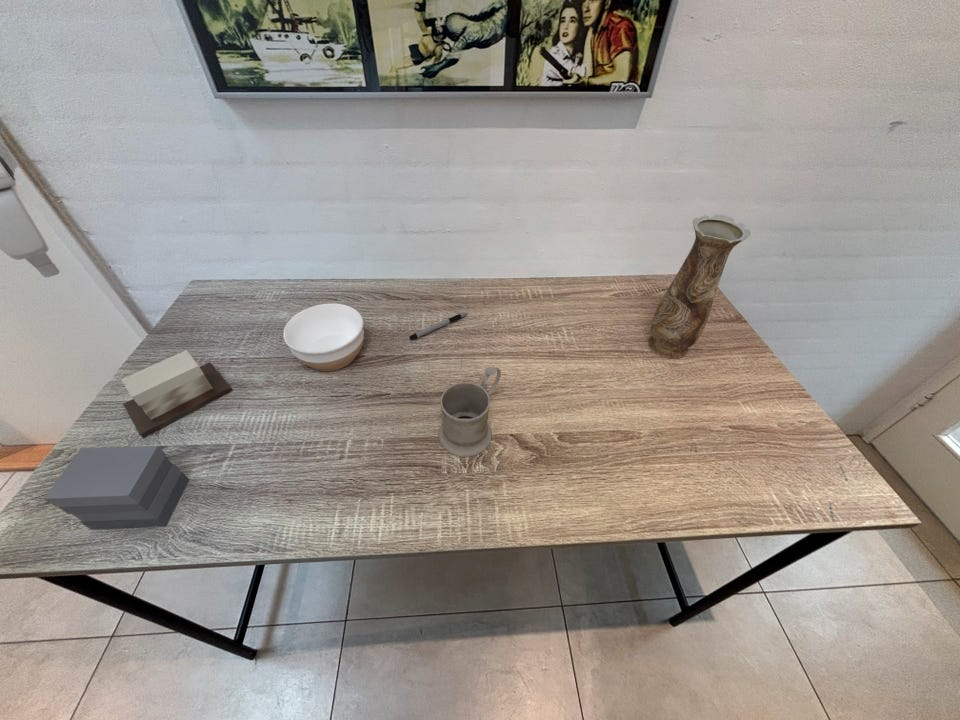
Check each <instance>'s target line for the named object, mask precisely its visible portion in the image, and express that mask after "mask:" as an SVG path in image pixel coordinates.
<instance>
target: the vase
mask: <svg viewBox="0 0 960 720" xmlns="http://www.w3.org/2000/svg"><path fill="white" fill-rule="evenodd" d="M692 225H693V229H694V233H695V238H694V242H693V244H692V246H691V249H690V250H689V252H688V254H687V256H686V257H685V259H684V260H683V263H682V264H681V266H680V268H679V270H678V272H677V273H676V275H675V277H674V278H673V280H672V282H671V283H670V285H669V287H668V288H667V290H666V292H665V293H664V295H663V297H662V298H661V300H660V301H659V303H658V305H657V307H656V309H655V312H654V313H653V317H652V320H651V324H650V333H651V335H650V336H649V338H648V339H647V345H648V347H649V348H650V349H651V351H653V352H654V353H655V354H656V355H658V356H660V357H663V358H666V359H674V360H675V359H682V358H684V357H685V356H686V355H687V354H688V352H689V348H690V347H692V346H694V345H695V343H697V341H698V340H699V339H700V337H701V335H702V333H703V332H704V329H705V328H706V325H707V323H708V320H709V317H710V314H711V311H712V308H713V304H714V300H715V298H716V294H717V291H718V288H719V285H720V281H721V278H722V276H723V273H724V269H725V266H726V265H727V261H728V259H729V256H730V254H731V252H732V251H733V249H734V248H735V247H736V246H737V245H738V244H740V243H741V242H743V241H744V240H746V239H748V238H749V237H750V236H751V231H750V229H748V228H745V227H746V226H745V223H743V222H738V223H737V222H735V219H734V218H732V217H731V216H729V215H726V214H725V215H724V214H714V215H713V216H711V217H710V216H709V215H706V214H704V215H702V216H700V218H699V217H694V218H693V220H692Z"/></svg>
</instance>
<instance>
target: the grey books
mask: <svg viewBox="0 0 960 720" xmlns="http://www.w3.org/2000/svg"><path fill="white" fill-rule="evenodd" d="M189 481H190V478H189V477H188V476H187V475H186V474H185V473H184V472H183V471H182V470H181V469H180V468H179V467H178V466H177V465H176V464H175V463H173V462H172V461H171V460H170V459H168V457H167V454H166V453H165V451H163V449H162V448H161V447H160V446H159V445H141V446H139V445H138V446H110V447H109V446H107V447H81V448H80V449H79V450H78V452H77V453H76V454H75V456H74V457H73V458H72V460H71V461H70V462H69V464H68V465H67V466H66V468H65V469H64V471H63V472H62V473H61V475H59V477H58V478H57V480H56V481H55V482H54V484H53V485H52V486H51V488H50V489H49V491H48V492H47V493H46V495H45V496H44V498H43V500H44V501H46V502H48V503H49V504H51V505H52V506H54V507H56V508H58V509H60V510H62V511H63V512H64V513H66V514H68V515H72V516H74V517H75V518H77V519H78V520H80V524H81V525H83V526H84V527H86V528H88V529H89V530H91V531H92V530H114V529H136V528H139V529H140V528H161V527H167V526H168V523H169V522H170V520H171V517H172V515H173V513H174V511H175V509H176V507H177V505H178V503H179V501H180V499H181V497H182V495H183V493H184V492H185V489H186V487H187V485H188V483H189Z"/></svg>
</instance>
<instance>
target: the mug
mask: <svg viewBox="0 0 960 720" xmlns="http://www.w3.org/2000/svg"><path fill="white" fill-rule="evenodd" d="M484 373H485V375H484V377H483V379H482V381H481V383H480V384H477V383H473V382H466V381H463V382H457V383H454V384H452V385H450V386H449V387H446V389H445V390H444V391H443V393H442V394H441V396H440V401H439V403H440V409H441V417H442V423H441V425H440V427H439V430H438V439H439V443H440V445H441V446H442V448H443V449H444V450H445V451H446V452H448V453H449V454H452V455H454V456H456V457H461V458H462V457H464V458H469V457H474V456H477V455H478V454H481V453H483V452H484V451H485V450H486V449H487V448H488V447H489V446H490V443H491V441H492V435H493V431H492V428H491V425H490V423H489V422H488V421H489V410H490V407H491V406H490V405H491V397H490V396H491V395H492V393H493V392H494V391H495V390H496V388H497V386H498V384H499V382H500V380H501V376H502V373H501V369H500V368H499V367H494V366H487V367H486V368H485V369H484ZM495 374H496V377H495V380H494V382H493V384H492V386H490V388H489V389H488V384H487V381H488V379H489V377H490V376H493V375H495ZM487 389H488V391H487ZM460 417H469V418H460Z"/></svg>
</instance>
